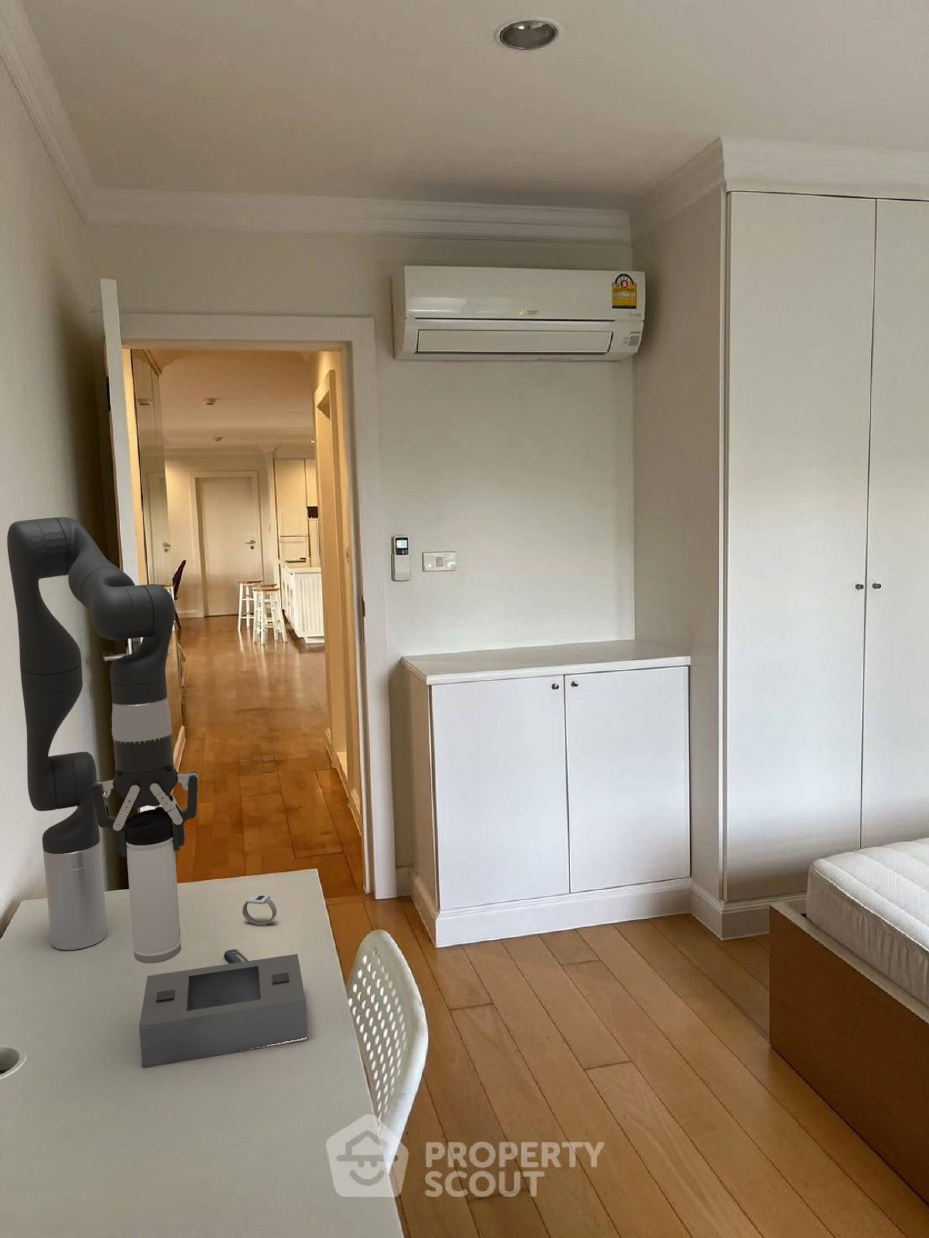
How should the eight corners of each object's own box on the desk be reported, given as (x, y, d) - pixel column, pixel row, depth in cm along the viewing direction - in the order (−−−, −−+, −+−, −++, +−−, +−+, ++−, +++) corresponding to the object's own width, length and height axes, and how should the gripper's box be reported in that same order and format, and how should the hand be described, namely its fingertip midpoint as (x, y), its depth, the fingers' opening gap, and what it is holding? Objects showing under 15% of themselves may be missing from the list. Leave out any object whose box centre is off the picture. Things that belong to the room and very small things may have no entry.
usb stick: (260, 976, 149) (259, 967, 149) (244, 981, 147) (243, 972, 147) (237, 954, 156) (237, 945, 156) (222, 959, 155) (222, 950, 155)
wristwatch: (240, 925, 166) (239, 899, 166) (247, 919, 169) (246, 893, 168) (272, 928, 165) (271, 901, 164) (279, 921, 168) (277, 895, 167)
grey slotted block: (150, 1013, 138) (147, 974, 137) (299, 990, 143) (297, 952, 142) (142, 1067, 124) (139, 1024, 124) (307, 1039, 130) (305, 998, 129)
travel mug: (192, 945, 131) (183, 808, 129) (161, 967, 125) (151, 823, 122) (156, 939, 133) (146, 804, 131) (124, 960, 127) (113, 819, 125)
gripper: (199, 722, 131) (206, 836, 132) (90, 730, 127) (100, 848, 129) (196, 734, 123) (204, 855, 125) (81, 743, 120) (91, 867, 122)
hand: (151, 851), depth 127 cm, fingers closed on travel mug, 6 cm apart
